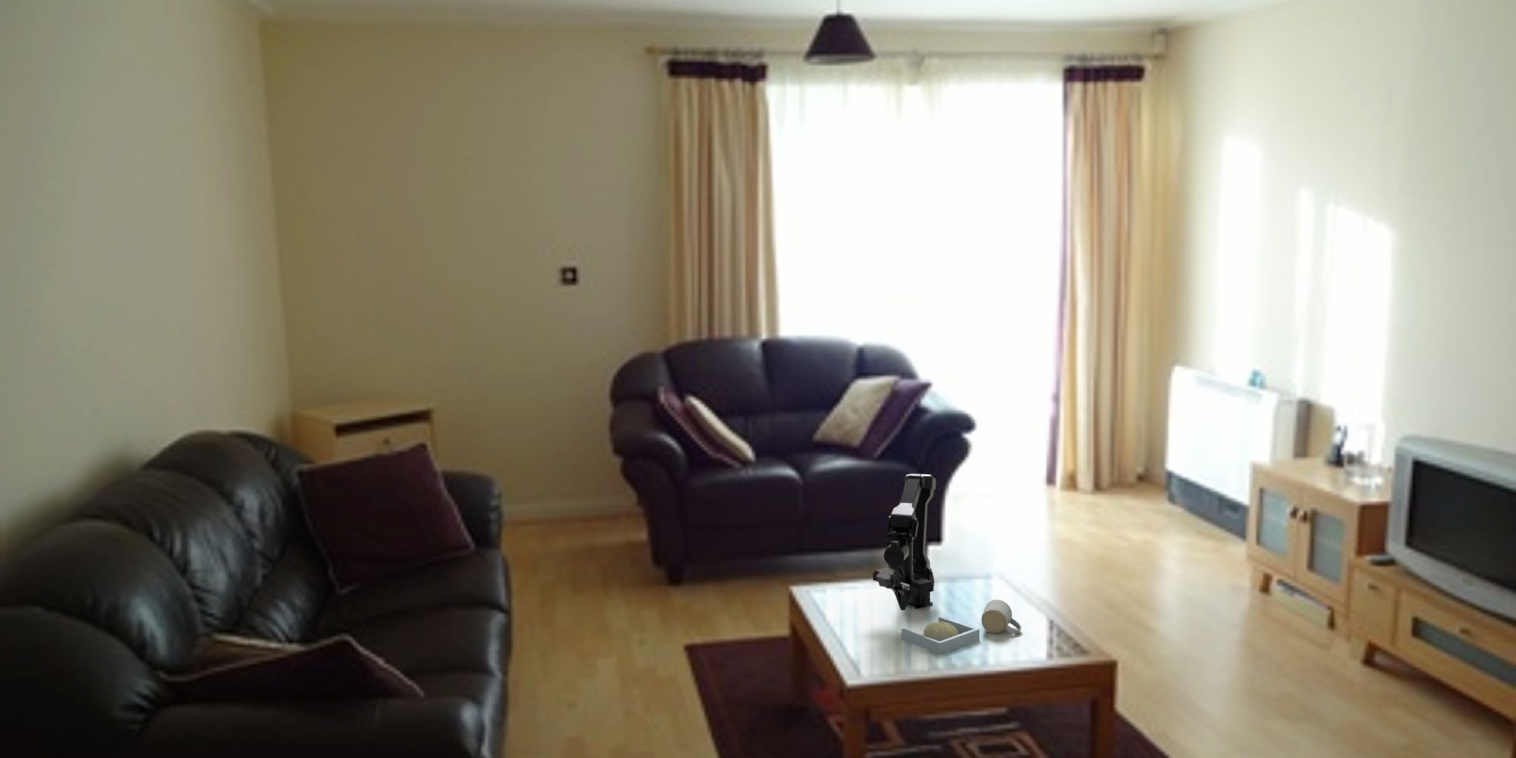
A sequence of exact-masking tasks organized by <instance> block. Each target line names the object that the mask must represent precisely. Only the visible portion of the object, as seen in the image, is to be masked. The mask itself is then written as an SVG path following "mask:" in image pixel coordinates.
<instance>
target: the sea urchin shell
mask: <svg viewBox="0 0 1516 758" xmlns="http://www.w3.org/2000/svg"><path fill="white" fill-rule="evenodd" d="M956 635H959V634H958V631H957V629H956V628H955V627H954V626H953V625H951V624H948V623H945V622H938V621H933V622H930V623H929V624H927V625H926V626H925V627H924V629H923V636H926V637H929V638H932V639H934V640H937V641H942V640H945V639H948V638H950V637H953V636H956Z"/></svg>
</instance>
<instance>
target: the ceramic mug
mask: <svg viewBox="0 0 1516 758" xmlns="http://www.w3.org/2000/svg"><path fill="white" fill-rule="evenodd" d="M983 609H984V610H983V612H982V614H981V624H982V627H983V628H984V630H985V631H986V632H988V633H990V634H994V635H996V634H1001V633H1003V632H1004V631H1006V632H1008V633H1011V634H1013V635H1018V634H1020V632H1021V630H1022V626H1021V625H1022V624H1020V623H1019V622H1018V621H1017V620H1015V619H1014V618H1013V611H1012V609H1011V607H1010V606H1009V604H1008V603H1006V602H1005V601H1004V600H1001V599H991V600H989V601H988V602H987V603H986V605H985V607H984V608H983ZM1009 624H1011V625H1012V626H1014V627H1015V628H1014V627H1011V626H1009Z"/></svg>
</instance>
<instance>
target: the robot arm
mask: <svg viewBox="0 0 1516 758" xmlns="http://www.w3.org/2000/svg"><path fill="white" fill-rule="evenodd" d="M904 477H905V478H904V488H903V492H902V494H901V497H900V500H899V501H900V502H899V504H898V505H897V506H895V507H894V508H893V509H892V511H891V513H890V515H889V516H888V517H887V524H886V530H885V537H884V538H885V540H890V544H889V545H888V546H887V548H886V549H885V550H884V552H883V560H884V561H885V563H886V564H888V565H887V567H886V566H885V567H883V568H878V569H875V570H874V571H873V573H872V581H874V582H877V583H878V585H879V587H883V588H885V589H888V590H889V589H890V590H891V591H892V592H893V593H894V596H895V598H896V601H897V603H898V607H899V610H900V611H902V612H903V611H906V609H907V607H908V605H909V607H912V608H915V609H917V610H918V609H919V610H920V609H924V608H926V607H929V606H932V605H933V604H934V603H933V602H932V601H931V592H934V591H935V588H934V587H935V577H934V576H935V575H934V573H933V569H932V567H931V561H930V559H929V557H928V555H927V553H926V546H927V545H926V544H927V523H928V504H929V503H930V501H931V500H932V498H933V497H934V493H935V491H936V486H937V479H936V478H935V477H933V475H932V474H926V473H909V474H906V475H905V476H904Z"/></svg>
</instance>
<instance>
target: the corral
mask: <svg viewBox="0 0 1516 758" xmlns="http://www.w3.org/2000/svg"><path fill="white" fill-rule="evenodd" d="M937 619H938V620H937V622H945V623H948V624H951V625H953V626H954V627H955V628H956V629H957V631H958V635H956V636H953V637H950V638H948V639H945V640H942V641H937V640H934V639H932V638H929V637H926V636H924V634H920V633H917V632H915V631H913V630H909V629H906V628H901V629H900V637H901V638H900V639H901V641H903V642H906V643H908V644H911V645H914V646H917V647H919V648H922V649H925V650H927V651H930V652H933V653H935V654H939V655H941V654H944V653H947V652H951V651H952V650H955V649H959V648H960V647H963V646H967V645H968V644H972V643H975V642H977V641H980V636H981V635H980V634H981V632H980V628H977V627H975V626H971V625H969V624H965V623H964V622H959V621H957V620H954V619H950V618H948V617H945V616H942V615H940V616H938V618H937Z"/></svg>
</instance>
